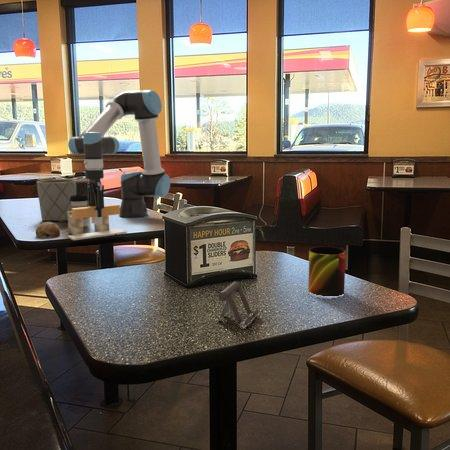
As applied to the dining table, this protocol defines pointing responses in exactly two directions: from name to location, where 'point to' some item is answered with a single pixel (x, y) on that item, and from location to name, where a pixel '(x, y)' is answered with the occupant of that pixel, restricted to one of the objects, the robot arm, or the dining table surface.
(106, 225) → the post
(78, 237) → the board
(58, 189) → the planter
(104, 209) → the rail
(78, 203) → the coffee cup
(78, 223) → the post
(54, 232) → the bread roll
